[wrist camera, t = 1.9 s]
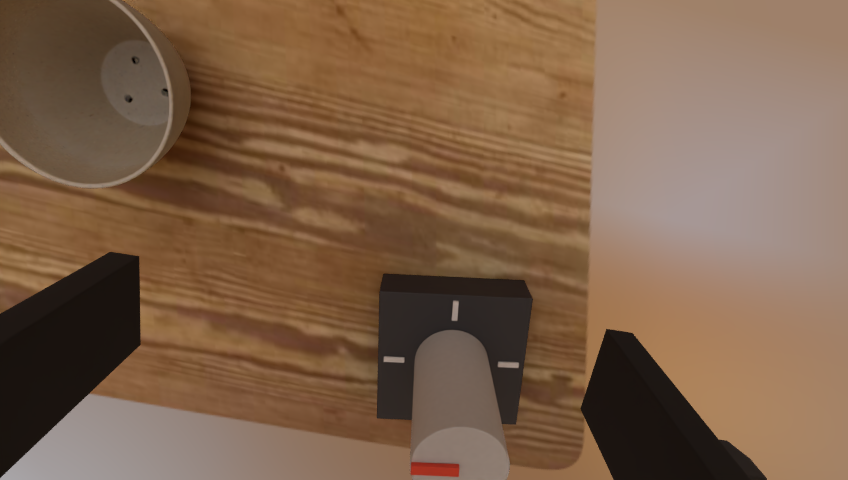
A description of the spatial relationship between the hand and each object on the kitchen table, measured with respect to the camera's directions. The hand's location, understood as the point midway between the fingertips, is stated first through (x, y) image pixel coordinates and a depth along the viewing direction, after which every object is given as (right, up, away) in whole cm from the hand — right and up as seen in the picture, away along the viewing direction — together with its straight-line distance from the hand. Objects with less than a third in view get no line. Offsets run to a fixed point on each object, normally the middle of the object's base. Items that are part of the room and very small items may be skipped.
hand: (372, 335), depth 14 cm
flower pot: (-16, +12, +17) cm, 26 cm away
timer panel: (+3, -5, +22) cm, 23 cm away
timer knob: (+3, -6, +20) cm, 21 cm away
